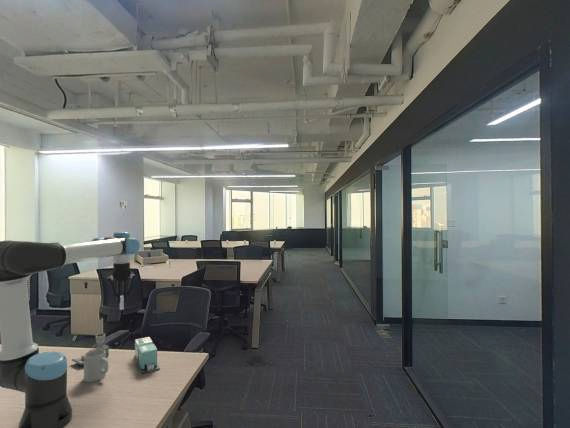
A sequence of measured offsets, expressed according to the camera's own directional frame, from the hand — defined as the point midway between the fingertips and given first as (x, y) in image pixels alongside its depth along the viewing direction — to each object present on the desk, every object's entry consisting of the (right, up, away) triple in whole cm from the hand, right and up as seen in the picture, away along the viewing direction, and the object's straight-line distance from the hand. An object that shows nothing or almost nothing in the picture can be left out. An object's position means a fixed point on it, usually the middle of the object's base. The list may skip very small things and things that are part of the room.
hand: (121, 308), depth 157 cm
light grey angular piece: (+13, -26, -2) cm, 30 cm away
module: (+16, -25, -5) cm, 30 cm away
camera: (-16, -27, +1) cm, 31 cm away
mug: (-2, -27, -16) cm, 31 cm away
